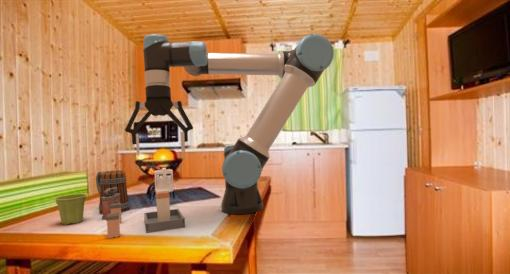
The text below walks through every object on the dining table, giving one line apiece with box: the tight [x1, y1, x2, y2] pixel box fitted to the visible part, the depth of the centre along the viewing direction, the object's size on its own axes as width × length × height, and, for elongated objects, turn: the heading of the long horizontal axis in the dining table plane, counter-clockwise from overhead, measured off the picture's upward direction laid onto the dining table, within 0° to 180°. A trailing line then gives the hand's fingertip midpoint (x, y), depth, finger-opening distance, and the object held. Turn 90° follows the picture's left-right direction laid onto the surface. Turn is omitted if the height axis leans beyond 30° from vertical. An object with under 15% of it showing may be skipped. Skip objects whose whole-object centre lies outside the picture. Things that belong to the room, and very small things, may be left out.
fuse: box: [155, 189, 171, 222], centre depth 97 cm, size 4×4×10 cm
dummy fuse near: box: [105, 213, 121, 239], centre depth 87 cm, size 3×3×6 cm
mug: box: [95, 169, 130, 215], centre depth 119 cm, size 16×11×15 cm
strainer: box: [154, 167, 174, 193], centre depth 124 cm, size 7×7×15 cm
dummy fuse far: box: [110, 203, 123, 224], centre depth 101 cm, size 3×3×6 cm
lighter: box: [101, 187, 120, 221], centre depth 109 cm, size 8×3×10 cm, turn 168°
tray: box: [143, 208, 186, 234], centre depth 97 cm, size 11×14×3 cm
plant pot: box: [54, 193, 88, 225], centre depth 103 cm, size 9×9×9 cm
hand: (161, 153), depth 97 cm, fingers open, 13 cm apart
